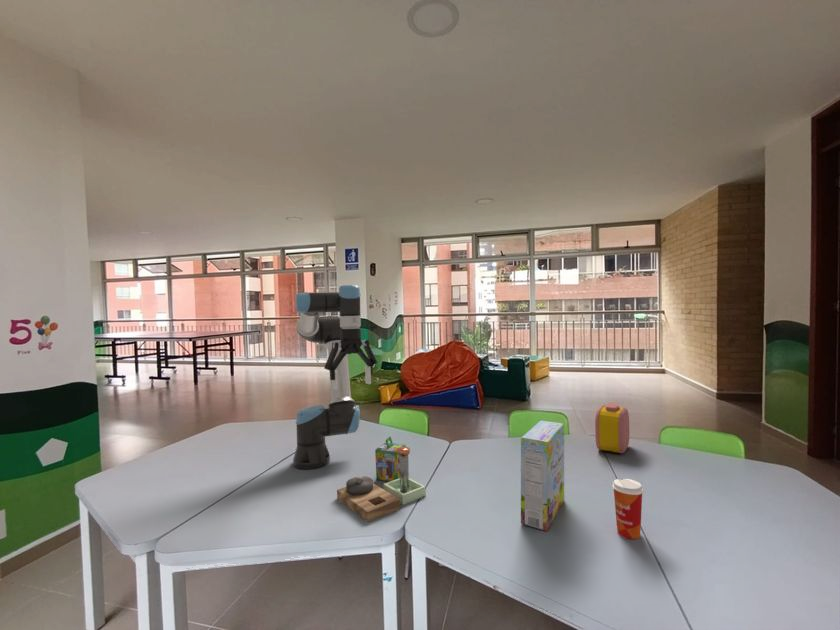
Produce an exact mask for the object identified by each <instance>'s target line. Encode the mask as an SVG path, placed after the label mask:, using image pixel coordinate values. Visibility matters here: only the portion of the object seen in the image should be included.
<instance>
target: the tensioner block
mask: <svg viewBox="0 0 840 630" xmlns="http://www.w3.org/2000/svg"><path fill="white" fill-rule="evenodd" d="M345 485H346V486H344V487H341V488H339V489H337V490H336V496H337V497H336V499H337V500H339V501H340V502H341V503H342V504H344V505H345V506H347V508H349V509H351V510H352V512H354V513H355V514H357V515H359V517H361V518H362V519H363V520H365V521H366V522H368V523H369V522H371V521H374V520H376V519H379V518H381V517H383V516H386V515H388V514H390V513H392V512H395V511H398V510H400V509H401V503H400V499H399V498H397V497H395V496H394V495H392V494H390V493H389V492H387V491H385V490H384V488H381V486H379V485H377V484H376V483H374V481H373V478H371V477H368V476H362V475H359V476H356V477H351V478H349V479H348V480H347V481H346V482H345ZM385 514H386V515H385Z"/></svg>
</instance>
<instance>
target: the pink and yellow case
mask: <svg viewBox="0 0 840 630" xmlns="http://www.w3.org/2000/svg"><path fill="white" fill-rule="evenodd" d="M594 423H595V424H594V425H595V445H596V449H597V450H599V451H605V452H611V453H612V452H613V453H619V454H620V455H622V454H624V453H625V452H626V450H627V448H628V447H629V443H630V413H629V411H628V409H627V407H625V406H622V407H620V405H619V404H618V403H613V402H611V403H610V402H608V403H607V404H604V405H601V406H600V407H598V409H597V411H596V413H595V422H594Z"/></svg>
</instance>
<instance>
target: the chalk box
mask: <svg viewBox="0 0 840 630" xmlns="http://www.w3.org/2000/svg"><path fill="white" fill-rule="evenodd" d="M399 447H406V444H399V443H395V442H393V440H392V437H391V436H388V437H387V438H386V439H385V442H384V443H383V444H381V445H380V446H378V447H377V448H375V451H374V452H375V472H376V473H375V476H376V479H375V480H377V481H384V482H385V481H386V482H390V481H393V480H396V479H399V478H400V475H399V454H398V453H397V449H398V448H399Z"/></svg>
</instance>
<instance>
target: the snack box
mask: <svg viewBox="0 0 840 630" xmlns="http://www.w3.org/2000/svg"><path fill="white" fill-rule="evenodd" d="M564 501H565V424H564V423H561V422H554V421H545V420H540V421H538V422H537V423H536V424H535V425H534V426H533V427H532V428H530V429H529V430H528V431H527V432H526V433H524V435H523V436H521V438H520V524H521V525H524V526H528V527H532V528H535V529H538V530H541V531H546V532H548V531H549V529H550V526H551V525H552V523H553V521H554V520H555V517H556V515H557V514H558V512H559V510H560V509H561V507H562V505H563V503H564Z"/></svg>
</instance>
